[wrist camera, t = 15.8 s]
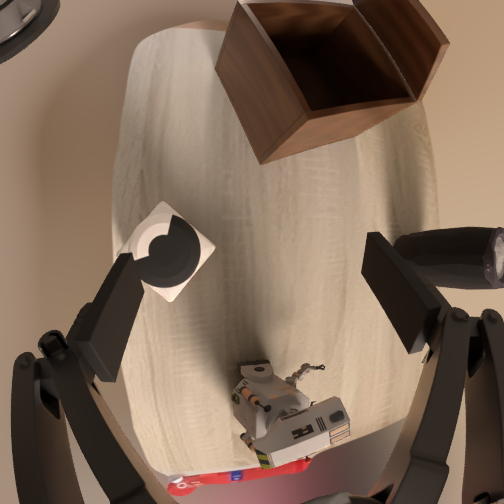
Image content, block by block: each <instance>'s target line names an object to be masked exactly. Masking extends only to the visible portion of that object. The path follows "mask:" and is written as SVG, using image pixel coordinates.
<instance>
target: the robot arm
mask: <svg viewBox="0 0 504 504" xmlns="http://www.w3.org/2000/svg"><path fill="white" fill-rule="evenodd" d="M41 9H42V2H41V0H0V46H2V45H4V44H6V43H8V42H9V41H11V40H12V39H14V38H15V37H17V36H18V35H19V34H21V33H22V32H23V31H24V30H25V29H26V28H27V27H28V26H29V25H30V24H31V23H32V22H33V21H34V20H35V19H36V18H37V16H38V15H39V13H40V11H41ZM361 274H362V275H363V277H364V278H365V280H366V282H367V283H368V285H369V286H370V288H371V290H372V291H373V293H374V294H375V296H376V298H377V299H378V301H379V303H380V304H381V306H382V308H383V309H384V311H385V313H386V315H387V316H388V318H389V320H390V321H391V323H392V325H393V327H394V328H395V330H396V332H397V334H398V336H399V337H400V339H401V341H402V343H403V345H404V346H405V348H406V350H407V352H408V354H412V353H416V352H419V351H422V349H423V347H424V345H425V343H426V342H427V344H428V345H429V347H430V348H429V350H428V352H427V354H426V356H425V357H424V359H423V361H422V363H424V362H425V363H424V366H423V370H422V374H421V377H420V380H419V384H418V387H417V390H416V393H415V396H414V399H413V402H412V405H411V408H410V411H409V413H408V416H407V419H406V422H405V424H404V426H403V429H402V432H401V434H400V436H399V439H398V441H397V443H396V446H395V448H394V450H393V452H392V454H391V457H390V459H389V461H388V463H387V465H386V467H385V469H384V471H383V473H382V475H381V476H380V478H379V479H378V480H377V482H376V483H375V484H374V486H373V487H372V489H371V490H370V492H369V494H368V495H367V496H362V495H353V494H349V493H348V491H343V492H339V493H335V494H331V495H326V496H321V497H317V498H314V499H312V500H309V501H307V502H304V503H302V504H437V503H438V501H439V498H440V495H441V493H442V491H443V488H444V485H445V483H446V480H447V477H448V473H449V466H448V465H447V464H446V460H447V456H448V453H449V450H450V446H451V443H452V439H453V436H454V431H455V427H456V424H457V419H458V415H459V411H460V406H461V401H462V395H463V390H464V388H465V405H466V450H465V467H464V477H463V487H462V504H504V322H503V319H502V317H501V315H500V314H499V313H498V312H497V311H495V310H492V309H485V310H484V311H483V313H482V314H481V316H480V317H469V315H468V313H466V312H465V311H464V310H462V309H460V308H456V307H453V308H452V307H451V305H450V304H449V303H448V302H447V300H446V299H445V298H444V297H443V295H442V294H441V293H440V292H439V291H438V289H437V288H436V287H435V286H434V285H433V283H432V282H431V281H430V280H429V278H427V277H426V276H424V275H423V274H421V273H415V272H414V270H413V269H412V268H411V267H410V266H409V265H408V263H407V262H406V261H405V260H404V259H403V258H402V256H401V255H400V254H399V253H398V252H397V251H396V250H395V249H394V247H393V246H392V245H391V244H390V243H389V242H388V241H387V240H386V239H385V238H384V237H383V235H382V234H381V233H380V232H367V239H366V246H365V252H364V259H363V265H362V270H361ZM143 295H144V289H143V286H142V283H141V279H140V276H139V273H138V270H137V267H136V263H135V260H134V257H133V253H132V252H130V253H120V255H119V256H118V258H117V260H116V261H115V263H114V265H113V266H112V268H111V270H110V272H109V274H108V275H107V277H106V279H105V280H104V282H103V284H102V286H101V288H100V290H99V291H98V293H97V295H96V297H95V299H94V300H93V302H92V303H87V304H86V305H85V306H84V307H83V308H82V309H81V310H80V312H79V313H78V315H77V318H76V319H75V321H74V324H73V325H72V327H71V329H70V331H69V333H68V334H67V336H66V339H65V338H64V336H63V335H62V333H61V332H60V331H58V330H51V331H49V332H47V333H45V334H44V335H43V336H42V337H41V338H40V340H39V342H38V348H39V350H40V351H41V353H42V354H43V355H44V358H39V359H36V358H35V356H34V355H33V354H32V353H31V352H24V353H23V354H21V355H19V356H18V357H17V359H16V360H15V363H14V367H13V378H12V393H11V438H12V439H11V440H12V454H13V465H14V473H15V480H16V487H17V493H18V498H19V503H20V504H84V500H83V497H82V494H81V491H80V487H79V483H78V480H77V476H76V472H75V468H74V464H73V460H72V455H71V450H70V445H69V439H68V434H67V427H66V420H65V414H66V417H67V419H68V422H69V424H70V427H71V429H72V431H73V434H74V436H75V438H76V440H77V442H78V444H79V446H80V449H81V451H82V453H83V454H84V457H85V459H86V460H87V462H88V464H89V466H90V468H91V470H92V472H93V474H94V475H95V477H96V479H97V480H98V482H99V484H100V486H101V487H102V489H103V491H104V492H105V494H106V495H107V497H108V498H109V500H110V504H179V503H177V502H176V501H175V500H174V499H173V498H172V497H171V496H170V494H169V493H168V492H167V491H166V490H165V489H164V487H163V486H162V485H161V484H160V482H159V481H158V480H157V479H156V477H155V476H154V475H153V473H151V471H150V470H149V468H148V467H147V466H146V464H145V463H144V461H143V460H142V459H141V457H140V456H139V454H138V453H137V452H136V450H135V449H134V447H133V446H132V444H131V443H130V441H129V440H128V438H127V437H126V436H125V434H124V432H123V431H122V429H121V427H120V426H119V424H118V422H117V421H116V419H115V417H114V416H113V414H112V412H111V411H110V409H109V407H108V405H107V404H106V402H105V400H104V398H103V396H102V395H101V393H100V391H99V389H98V387H97V385H96V383H95V382H94V381H93V380H94V377H95V374H96V375H97V376H98V378H99V379H100V381H103V382H116V378H117V374H118V371H119V368H120V364H121V361H122V358H123V354H124V351H125V348H126V345H127V342H128V338H129V335H130V332H131V329H132V326H133V323H134V320H135V317H136V315H137V312H138V309H139V306H140V303H141V300H142V298H143ZM64 412H65V413H64Z"/></svg>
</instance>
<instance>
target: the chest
mask: <svg viewBox="0 0 504 504" xmlns="http://www.w3.org/2000/svg"><path fill="white" fill-rule="evenodd" d="M215 70H216V72H217V74H218V76H219V78H220V80H221V82H222V84H223V86H224V88H225V90H226V92H227V94H228V97H229V99H230V101H231V103H232V105H233V107H234V109H235V111H236V113H237V115H238V118H239V120H240V122H241V124H242V126H243V128H244V131H245V133H246V135H247V137H248V139H249V141H250V144H251V146H252V148H253V150H254V153H255V155H256V157H257V159H258V161H259V164H260V165H262V164H265V163H268V162H271V161H274V160H277V159H280V158H284V157H287V156H290V155H293V154H296V153H299V152H303V151H306V150H309V149H313V148H316V147H319V146H323V145H326V144H330V143H334V142H337V141H341V140H344V139H348V138H352V137H356V136H357V135H359V134H361V133H363V132H364V131H366V130H368V129H370V128H371V127H373V126H375V125H377V124H378V123H380V122H382V121H384V120H385V119H387V118H389V117H391V116H393V115H394V114H396V113H398V112H400V111H402V110H403V109H405V108H407V107H409V106H411V105H413V104H414V103H416V102H417V101H416V99H415V97H414V96H413V94H412V92H411V90H410V88H409V86H408V84H407V83H406V81H405V79H404V77H403V76H402V74H401V72H400V70H399V69H398V67H397V65H396V64H395V62H394V61H393V59H392V57H391V56H390V54H389V53H388V51H387V50H386V48H385V47H384V45H383V44H382V42H381V41H380V39H379V38H378V36H377V35H376V34H375V32H374V31H373V29H372V28H371V27H370V25H369V24H368V23H367V21H366V20H365V19H364V17H363V16H362V15H361V14H360V12H359V11H358V10H357V9H356V7H355V6H354V5H348V4H341V3H333V2H324V1H311V0H239V1H237V4H236V6H235V9H234V12H233V14H232V18H231V20H230V23H229V26H228V29H227V32H226V34H225V37H224V40H223V43H222V47H221V50H220V53H219V56H218V59H217V62H216V66H215Z"/></svg>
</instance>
